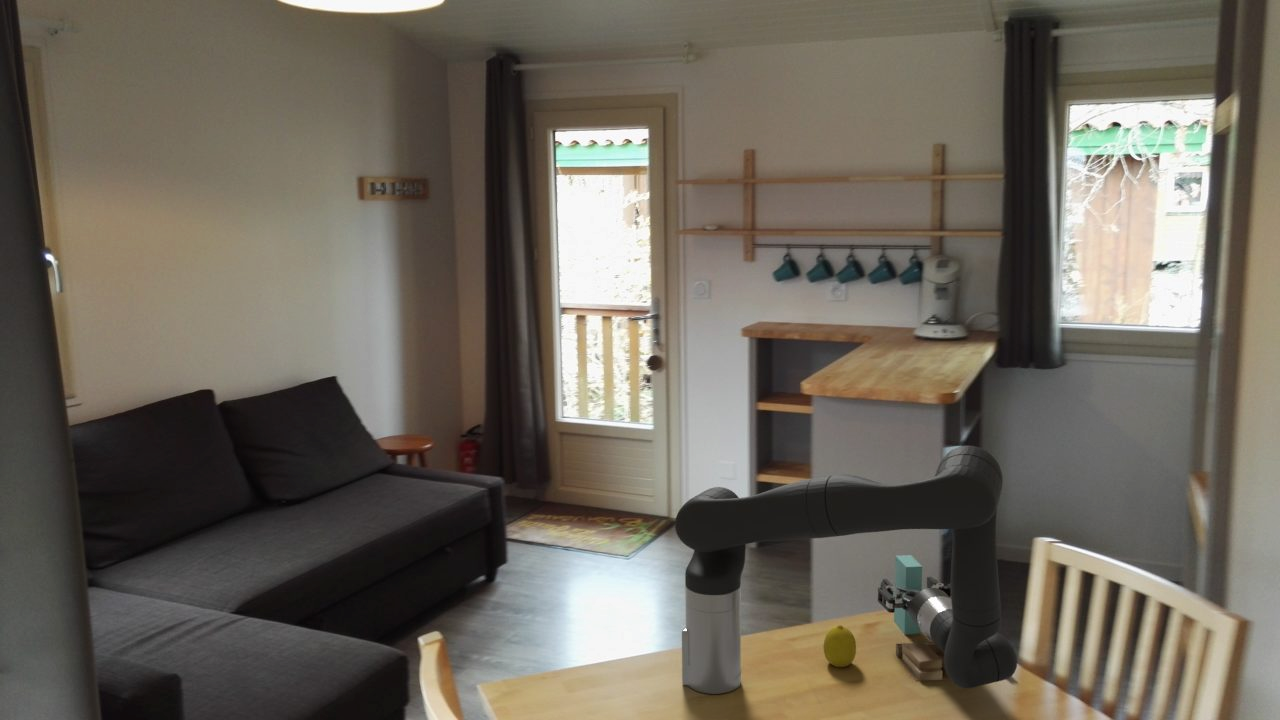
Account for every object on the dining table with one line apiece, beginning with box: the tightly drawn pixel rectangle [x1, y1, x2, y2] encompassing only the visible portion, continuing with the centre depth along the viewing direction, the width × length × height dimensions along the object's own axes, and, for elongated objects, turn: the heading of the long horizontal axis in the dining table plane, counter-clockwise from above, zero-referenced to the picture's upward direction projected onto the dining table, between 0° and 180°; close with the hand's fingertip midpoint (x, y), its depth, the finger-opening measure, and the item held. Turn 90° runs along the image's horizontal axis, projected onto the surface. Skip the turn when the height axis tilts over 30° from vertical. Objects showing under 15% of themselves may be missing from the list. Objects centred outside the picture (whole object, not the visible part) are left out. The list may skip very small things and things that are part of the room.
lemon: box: [823, 624, 857, 668], centre depth 174 cm, size 6×6×8 cm
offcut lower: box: [902, 654, 943, 682], centre depth 171 cm, size 4×8×2 cm, turn 5°
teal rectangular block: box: [893, 554, 923, 636], centre depth 187 cm, size 3×6×14 cm, turn 4°
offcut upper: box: [901, 641, 942, 670], centre depth 171 cm, size 4×7×2 cm, turn 9°
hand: (906, 582), depth 188 cm, fingers open, 8 cm apart
